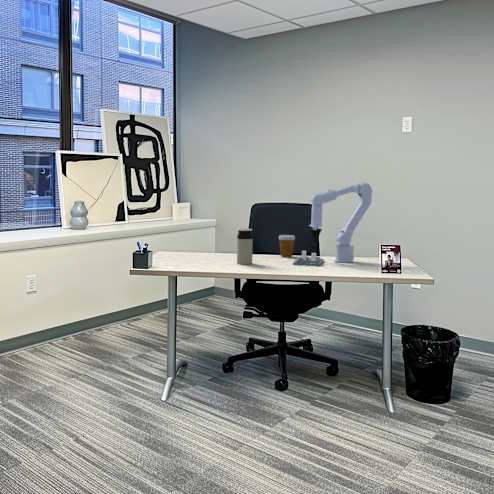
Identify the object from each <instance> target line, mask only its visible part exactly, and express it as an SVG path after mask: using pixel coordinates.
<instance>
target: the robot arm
mask: <svg viewBox="0 0 494 494" xmlns="http://www.w3.org/2000/svg"><path fill="white" fill-rule="evenodd" d="M349 193H357V195H358V196H359V197H358V198H359V200H360V202H359V204H358V206H357V208H355V211H354V212H353V213H352V215H351V217H350V218H349V220H348V221H347V223H346V225H345V226H344V227H343V228H342V229H341V230H340V231H339V232H337V234H336V236H335V239H336V244H335V245H336V248H335V260H334V263H351V264H352V263H353V262H354V260H355V259H354V251H355V250H354V248H355V247H354V245H351V241H352V237H353V235H354V231H355V229H356V228H357V227H358V225H359V223H360V221H361V220H362V218H363V217H364V215H365V214H366V212H367V211H368V210H369V207H370V206H371V204H372V198H373V197H372V195H373V189H372V186H371V185H370V184H369V183H367V182H360V183H354V184H350V185H347V186H345V187H342V188H340V189H337V190H334V189H333V188H332V189H331V188H329V189H327V190H326V191H323V192H319V193H317V194H314V195H313V196H312V197H311V199H310V202H311V203H312V205H311V215H310V216H311V219H310V224H309V225H308V227H311V228H310V232H311V236H312V241H313V243H318V242H319V238H320V234H321V233H322V229H323V228H322V227H323V204H326V203H329V202H332V201H335V200H337V198H338V197H340V196H343V195H347V194H349Z"/></svg>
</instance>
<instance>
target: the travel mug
mask: <svg viewBox="0 0 494 494" xmlns="http://www.w3.org/2000/svg"><path fill="white" fill-rule="evenodd" d="M237 231H238V233H237V235H236V238H237V239H236V241H237V242H236V244H237V245H236V263H237V264H239V265H243V266H245V265H251V264H253V242H254V240H253V234H252V231H253V228H237Z"/></svg>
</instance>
